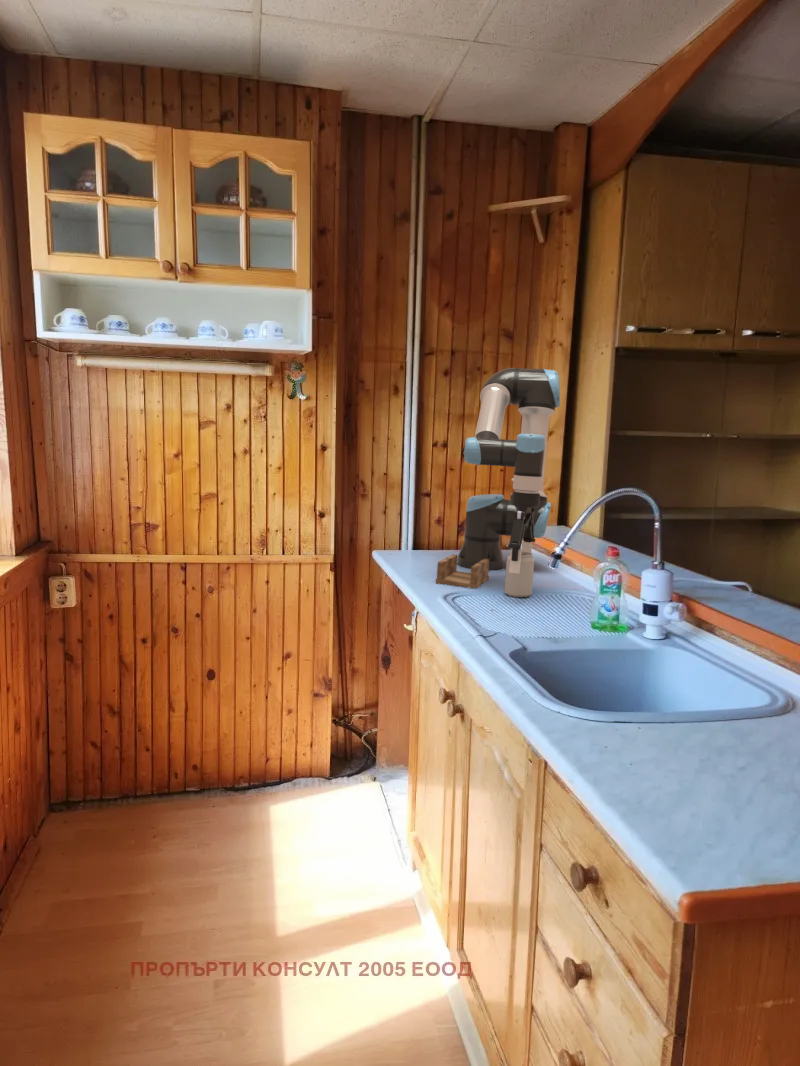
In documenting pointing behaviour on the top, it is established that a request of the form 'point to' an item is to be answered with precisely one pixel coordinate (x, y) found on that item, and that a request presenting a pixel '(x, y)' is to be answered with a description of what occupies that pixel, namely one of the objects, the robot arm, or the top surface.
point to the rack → (462, 573)
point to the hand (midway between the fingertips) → (519, 568)
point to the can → (520, 577)
